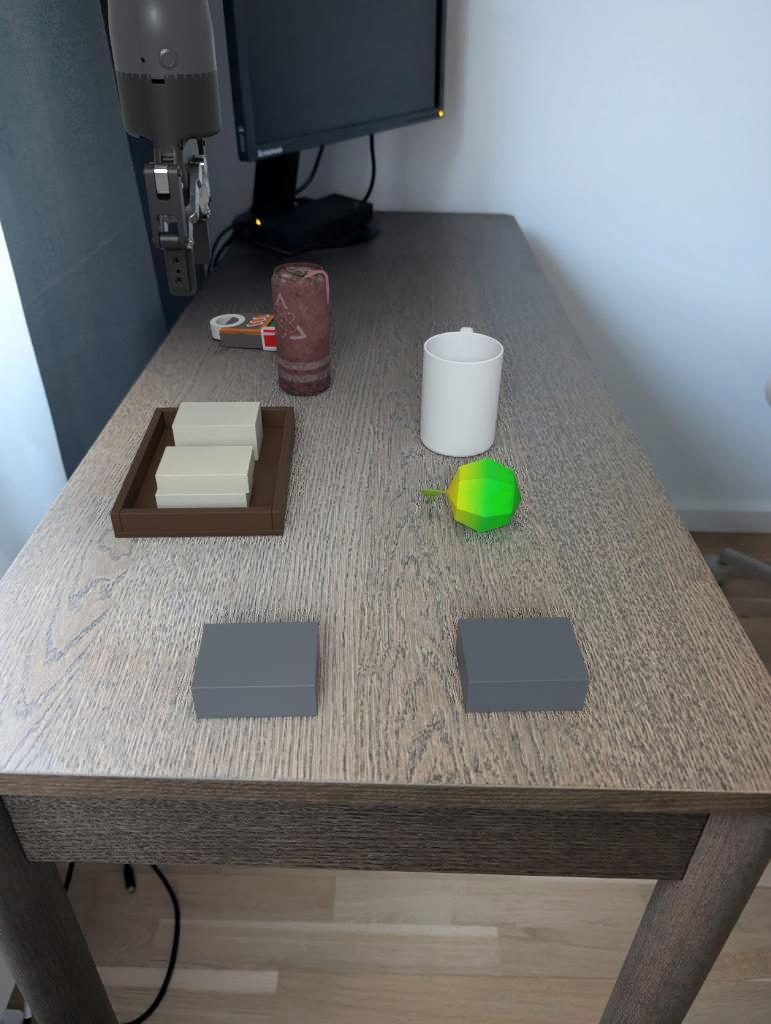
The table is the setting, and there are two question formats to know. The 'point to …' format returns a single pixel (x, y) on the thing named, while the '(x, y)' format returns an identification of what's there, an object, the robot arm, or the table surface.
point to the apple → (482, 495)
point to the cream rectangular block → (219, 425)
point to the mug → (460, 392)
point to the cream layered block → (205, 477)
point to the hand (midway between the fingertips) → (192, 277)
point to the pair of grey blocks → (479, 647)
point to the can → (301, 327)
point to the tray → (261, 518)
